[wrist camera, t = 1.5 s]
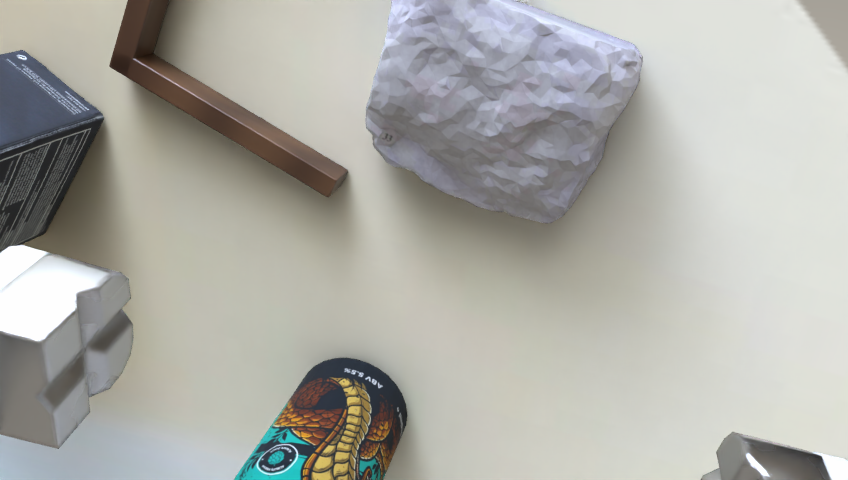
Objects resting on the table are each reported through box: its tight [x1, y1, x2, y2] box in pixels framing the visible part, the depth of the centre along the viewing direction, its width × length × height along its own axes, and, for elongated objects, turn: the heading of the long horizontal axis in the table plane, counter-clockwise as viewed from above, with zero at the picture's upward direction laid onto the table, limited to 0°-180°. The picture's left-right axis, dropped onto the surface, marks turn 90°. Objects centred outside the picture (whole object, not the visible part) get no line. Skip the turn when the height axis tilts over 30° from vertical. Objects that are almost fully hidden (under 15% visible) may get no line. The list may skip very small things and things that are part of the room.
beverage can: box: [234, 358, 407, 480], centre depth 39 cm, size 7×7×12 cm
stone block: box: [366, 0, 642, 223], centre depth 33 cm, size 12×5×10 cm
